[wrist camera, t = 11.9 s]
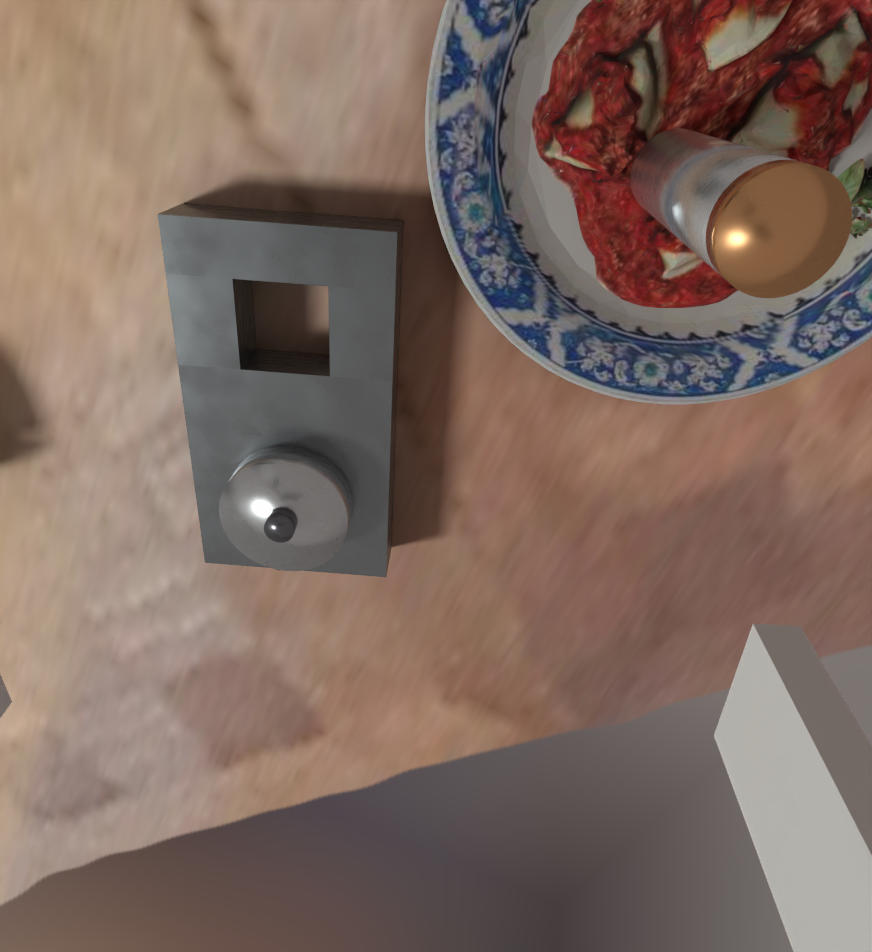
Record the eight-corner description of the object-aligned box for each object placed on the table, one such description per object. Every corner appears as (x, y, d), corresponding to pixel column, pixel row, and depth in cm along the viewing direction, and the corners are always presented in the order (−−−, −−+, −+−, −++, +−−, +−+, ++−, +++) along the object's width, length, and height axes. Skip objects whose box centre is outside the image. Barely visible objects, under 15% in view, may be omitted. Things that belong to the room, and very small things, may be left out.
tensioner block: (181, 203, 34) (129, 226, 29) (403, 220, 34) (390, 246, 29) (221, 534, 44) (187, 594, 39) (391, 547, 44) (380, 610, 39)
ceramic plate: (313, 107, 32) (299, 110, 29) (844, -499, 22) (893, -575, 20) (632, 471, 41) (642, 498, 38) (1111, 149, 31) (1168, 156, 28)
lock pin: (639, 126, 29) (735, 159, 18) (723, 130, 29) (872, 167, 18) (623, 213, 31) (701, 293, 20) (702, 218, 31) (826, 302, 19)
